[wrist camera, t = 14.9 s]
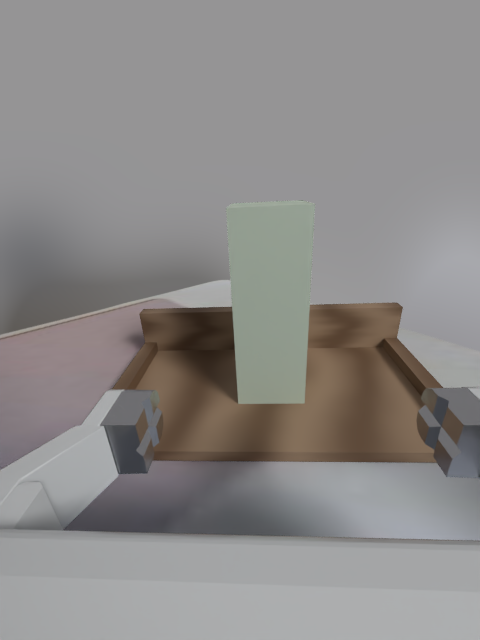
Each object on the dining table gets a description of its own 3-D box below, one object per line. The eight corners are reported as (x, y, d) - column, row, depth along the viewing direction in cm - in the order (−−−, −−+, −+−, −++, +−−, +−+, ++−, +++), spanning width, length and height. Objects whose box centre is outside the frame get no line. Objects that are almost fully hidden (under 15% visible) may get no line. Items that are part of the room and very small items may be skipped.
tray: (83, 459, 20) (61, 398, 18) (151, 351, 32) (143, 309, 30) (483, 462, 18) (510, 395, 16) (388, 347, 31) (397, 302, 29)
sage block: (238, 403, 23) (226, 208, 17) (241, 367, 27) (232, 203, 22) (304, 403, 22) (315, 204, 17) (296, 366, 27) (302, 200, 21)
